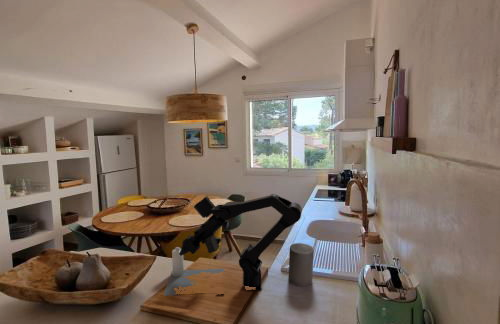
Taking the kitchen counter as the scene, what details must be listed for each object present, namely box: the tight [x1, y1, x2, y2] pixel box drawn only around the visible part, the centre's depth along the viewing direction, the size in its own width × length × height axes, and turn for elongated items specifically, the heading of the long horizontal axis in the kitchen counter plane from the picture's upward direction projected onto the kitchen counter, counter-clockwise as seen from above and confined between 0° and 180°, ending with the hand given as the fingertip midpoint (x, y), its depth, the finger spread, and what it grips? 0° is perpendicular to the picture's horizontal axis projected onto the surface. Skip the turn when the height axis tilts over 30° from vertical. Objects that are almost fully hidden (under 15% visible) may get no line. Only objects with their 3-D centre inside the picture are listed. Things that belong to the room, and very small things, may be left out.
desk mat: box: [163, 268, 225, 296], centre depth 109 cm, size 22×18×1 cm
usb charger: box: [171, 246, 185, 277], centre depth 113 cm, size 4×4×11 cm
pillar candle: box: [288, 242, 315, 287], centre depth 111 cm, size 10×10×15 cm
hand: (185, 249), depth 112 cm, fingers open, 9 cm apart
